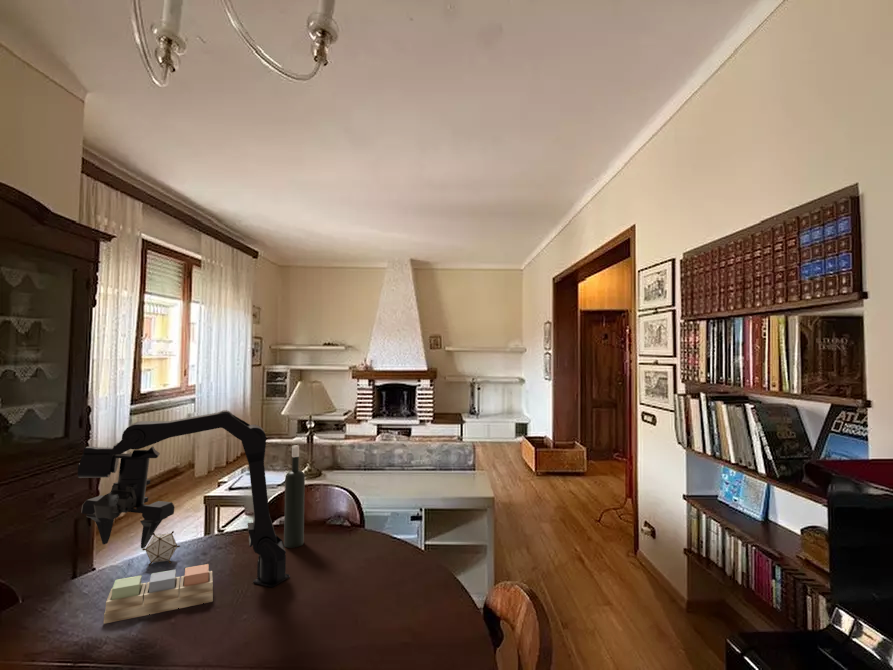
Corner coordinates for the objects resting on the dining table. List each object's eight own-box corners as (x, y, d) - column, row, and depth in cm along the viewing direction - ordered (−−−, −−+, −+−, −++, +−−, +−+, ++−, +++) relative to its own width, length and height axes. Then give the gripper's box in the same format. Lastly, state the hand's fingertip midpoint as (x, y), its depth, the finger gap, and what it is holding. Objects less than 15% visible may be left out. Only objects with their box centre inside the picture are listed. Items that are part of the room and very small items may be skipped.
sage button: (141, 588, 111) (141, 575, 111) (138, 598, 107) (138, 584, 107) (115, 593, 109) (115, 579, 109) (111, 603, 105) (112, 589, 105)
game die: (162, 578, 131) (157, 557, 126) (138, 564, 133) (132, 543, 128) (188, 551, 139) (185, 531, 133) (165, 539, 140) (160, 518, 135)
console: (212, 585, 120) (212, 568, 120) (212, 601, 112) (213, 584, 112) (111, 604, 110) (111, 586, 110) (103, 623, 102) (104, 604, 102)
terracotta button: (208, 576, 118) (208, 563, 118) (208, 584, 113) (208, 572, 113) (185, 580, 115) (185, 567, 115) (184, 589, 111) (184, 576, 111)
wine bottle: (284, 541, 148) (286, 444, 150) (304, 540, 150) (305, 443, 151) (283, 548, 143) (285, 447, 144) (303, 547, 144) (304, 446, 145)
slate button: (175, 582, 114) (175, 569, 115) (174, 591, 110) (174, 578, 110) (151, 586, 112) (151, 573, 112) (148, 596, 108) (149, 582, 108)
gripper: (65, 480, 104) (55, 554, 102) (147, 488, 102) (138, 563, 101) (105, 470, 115) (96, 537, 113) (179, 477, 114) (171, 545, 112)
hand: (124, 545), depth 110 cm, fingers open, 9 cm apart
